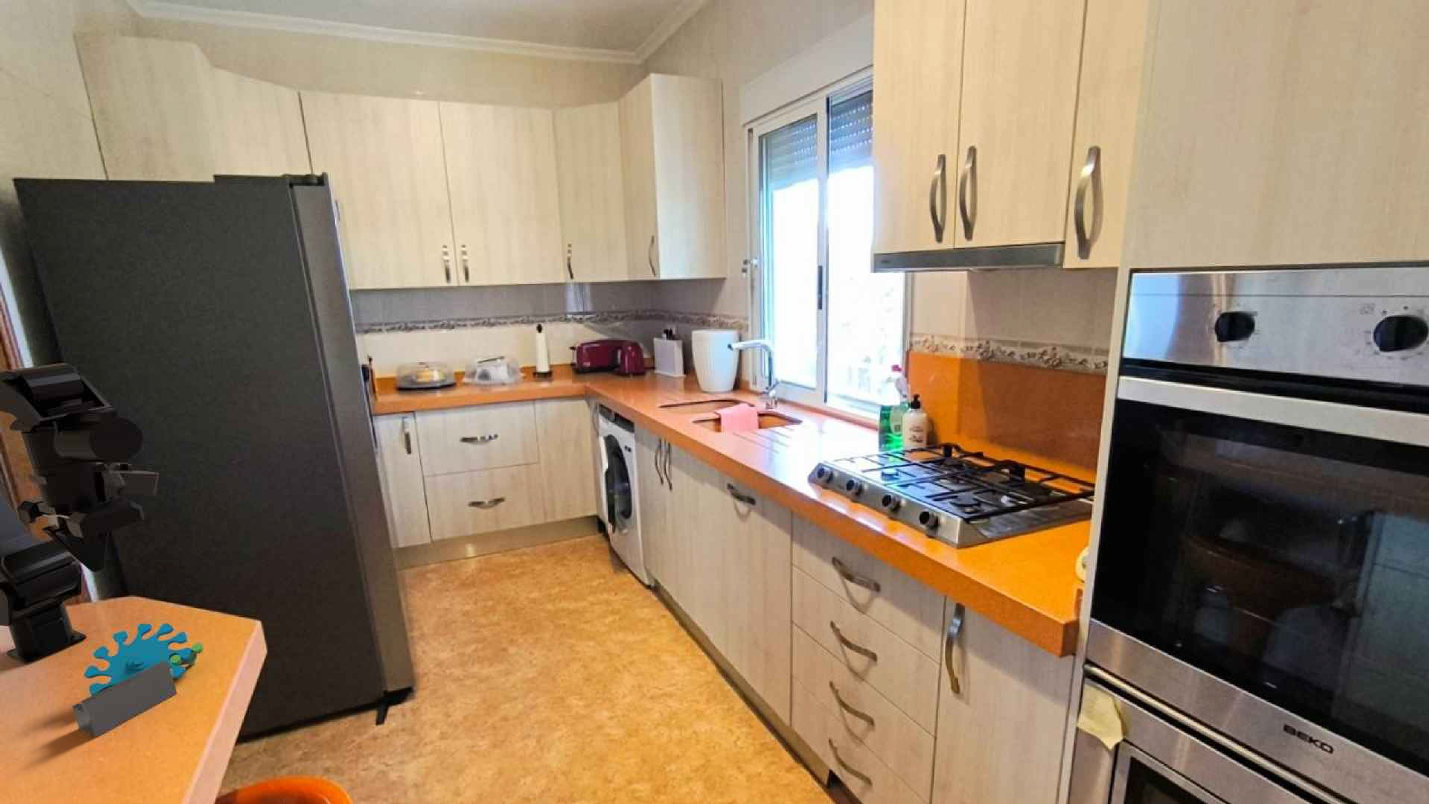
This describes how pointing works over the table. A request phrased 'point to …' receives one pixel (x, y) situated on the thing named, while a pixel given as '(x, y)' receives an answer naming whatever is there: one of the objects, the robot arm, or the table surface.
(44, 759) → the table surface
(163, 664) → the bay frame
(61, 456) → the robot arm
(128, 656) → the gear
